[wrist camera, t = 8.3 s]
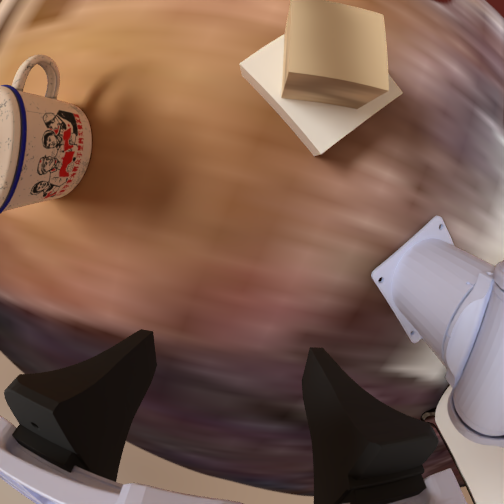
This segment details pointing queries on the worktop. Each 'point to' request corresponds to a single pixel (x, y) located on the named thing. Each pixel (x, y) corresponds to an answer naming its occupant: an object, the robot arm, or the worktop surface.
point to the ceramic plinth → (307, 102)
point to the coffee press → (471, 458)
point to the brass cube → (334, 54)
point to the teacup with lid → (40, 140)
